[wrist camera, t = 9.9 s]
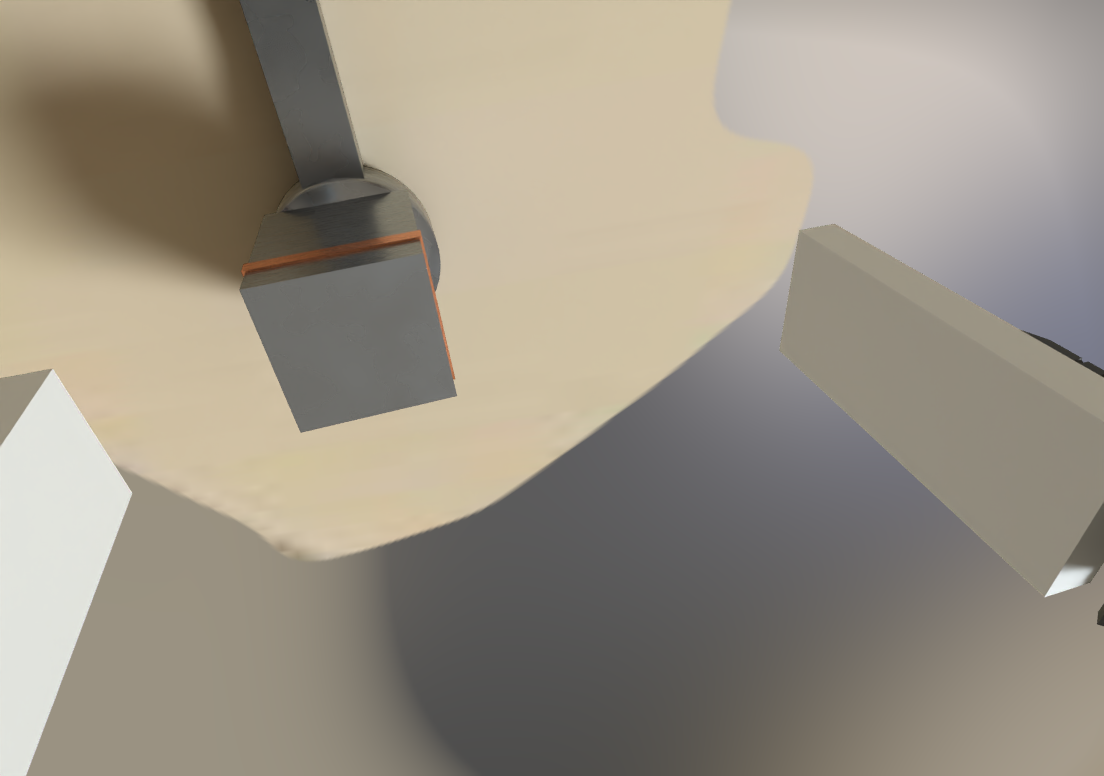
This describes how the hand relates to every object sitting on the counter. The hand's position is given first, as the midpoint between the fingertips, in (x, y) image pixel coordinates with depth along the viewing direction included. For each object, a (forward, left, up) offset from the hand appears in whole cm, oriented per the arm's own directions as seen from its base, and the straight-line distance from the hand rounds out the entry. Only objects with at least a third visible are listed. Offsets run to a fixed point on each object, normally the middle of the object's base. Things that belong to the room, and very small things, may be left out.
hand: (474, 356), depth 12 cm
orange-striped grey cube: (+6, -4, -20) cm, 21 cm away
